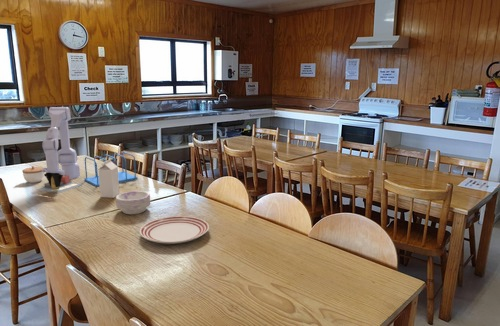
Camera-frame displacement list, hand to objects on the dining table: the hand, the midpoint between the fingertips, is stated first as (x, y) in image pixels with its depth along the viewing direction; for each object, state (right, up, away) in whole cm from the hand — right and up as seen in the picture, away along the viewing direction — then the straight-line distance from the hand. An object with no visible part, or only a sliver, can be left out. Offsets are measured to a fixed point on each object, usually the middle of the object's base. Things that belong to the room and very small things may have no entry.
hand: (55, 186), depth 204 cm
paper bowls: (+50, -10, -26) cm, 57 cm away
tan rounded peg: (0, -1, 0) cm, 2 cm away
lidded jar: (-21, +1, +18) cm, 27 cm away
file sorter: (+22, +2, +23) cm, 32 cm away
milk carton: (+31, -5, -4) cm, 32 cm away
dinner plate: (+74, -17, -50) cm, 91 cm away
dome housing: (-5, -1, +9) cm, 10 cm away
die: (-2, +1, +15) cm, 15 cm away
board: (0, -1, +7) cm, 7 cm away
